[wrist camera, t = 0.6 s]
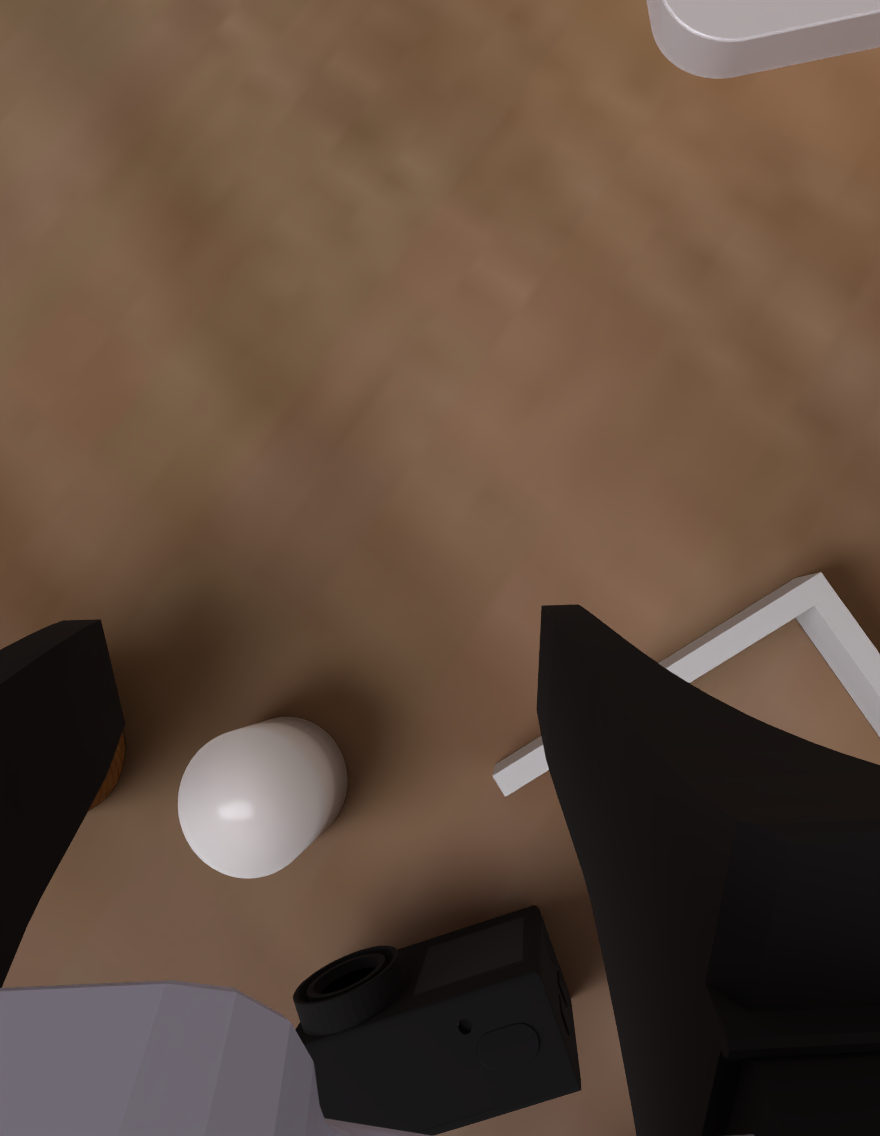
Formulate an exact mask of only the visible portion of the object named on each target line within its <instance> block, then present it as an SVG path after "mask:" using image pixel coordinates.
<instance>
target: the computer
mask: <svg viewBox="0 0 880 1136" xmlns="http://www.w3.org/2000/svg"><path fill="white" fill-rule="evenodd" d="M647 6H648V11H649V17H650V23H651V28H652V34H653V36H654V39H655V41H656V44H657V45H658V47H659V49H660V50H661V52H662V53H663V54H664V55H665V56H666V58H667V59H668V60H669V61H671V62H672V63H673V64H674V65H676V66H677V67H678V68H680V69H682V70H684V71H686V72H688V73H691V74H693V75H697V76H701V77H705V78H715V79H721V78H732V77H737V76H741V75H746V74H751V73H756V72H761V71H766V70H771V69H776V68H781V67H785V66H790V65H795V64H800V63H805V62H810V61H815V60H820V59H824V58H829V57H834V56H839V55H844V54H849V53H854V52H859V51H863V50H868V49H873V48H878V47H880V0H647Z"/></svg>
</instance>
